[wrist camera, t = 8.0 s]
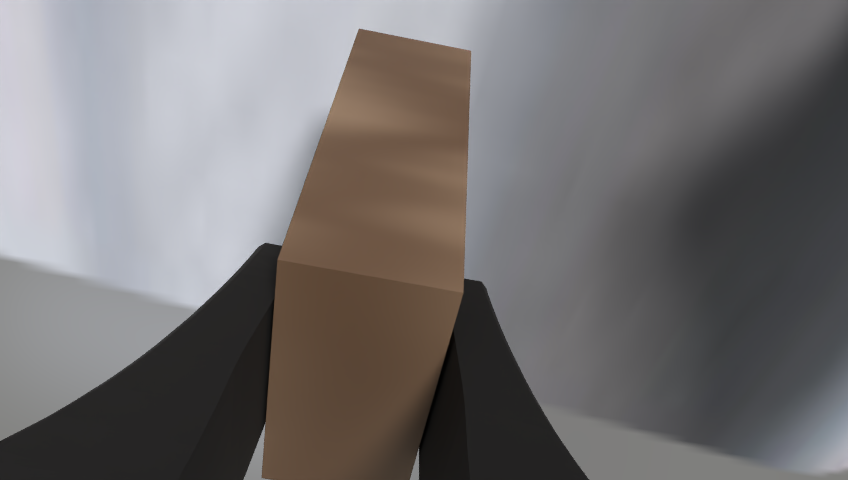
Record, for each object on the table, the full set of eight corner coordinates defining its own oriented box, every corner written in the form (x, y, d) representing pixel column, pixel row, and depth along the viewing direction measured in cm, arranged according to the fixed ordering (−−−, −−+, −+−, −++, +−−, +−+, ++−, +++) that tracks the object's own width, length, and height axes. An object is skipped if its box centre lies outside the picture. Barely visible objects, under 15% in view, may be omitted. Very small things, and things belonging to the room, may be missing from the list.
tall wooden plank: (470, 51, 16) (463, 292, 10) (429, 228, 19) (403, 500, 13) (358, 28, 16) (277, 259, 10) (335, 211, 19) (261, 478, 13)
